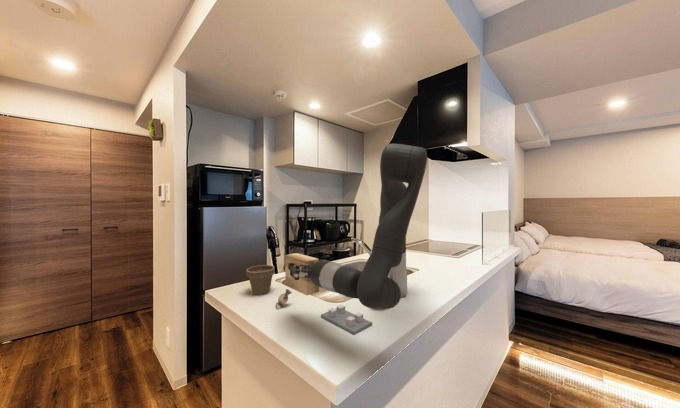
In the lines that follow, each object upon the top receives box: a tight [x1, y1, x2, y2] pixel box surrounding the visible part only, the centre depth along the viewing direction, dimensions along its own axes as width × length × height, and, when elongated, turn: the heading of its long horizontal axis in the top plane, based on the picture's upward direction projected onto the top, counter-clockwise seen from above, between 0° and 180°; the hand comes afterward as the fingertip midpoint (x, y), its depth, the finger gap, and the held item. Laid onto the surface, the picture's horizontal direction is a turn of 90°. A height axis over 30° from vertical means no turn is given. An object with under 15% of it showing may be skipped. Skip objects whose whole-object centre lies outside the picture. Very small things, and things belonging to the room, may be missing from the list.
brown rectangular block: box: [284, 252, 320, 296], centre depth 79 cm, size 4×12×10 cm, turn 43°
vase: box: [275, 288, 292, 310], centre depth 90 cm, size 5×5×6 cm
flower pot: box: [245, 264, 276, 296], centre depth 104 cm, size 12×11×10 cm
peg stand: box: [320, 304, 373, 335], centre depth 79 cm, size 8×15×3 cm, turn 43°
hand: (296, 264), depth 81 cm, fingers closed on brown rectangular block, 4 cm apart
